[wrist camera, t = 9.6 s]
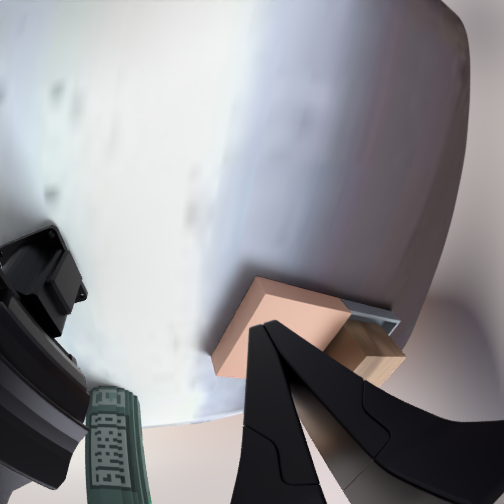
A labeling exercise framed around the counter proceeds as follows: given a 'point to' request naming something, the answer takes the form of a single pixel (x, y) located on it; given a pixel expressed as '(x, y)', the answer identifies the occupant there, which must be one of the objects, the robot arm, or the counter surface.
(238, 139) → the counter surface
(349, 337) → the tan block
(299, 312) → the thick peach slab
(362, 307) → the tray
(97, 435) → the can
